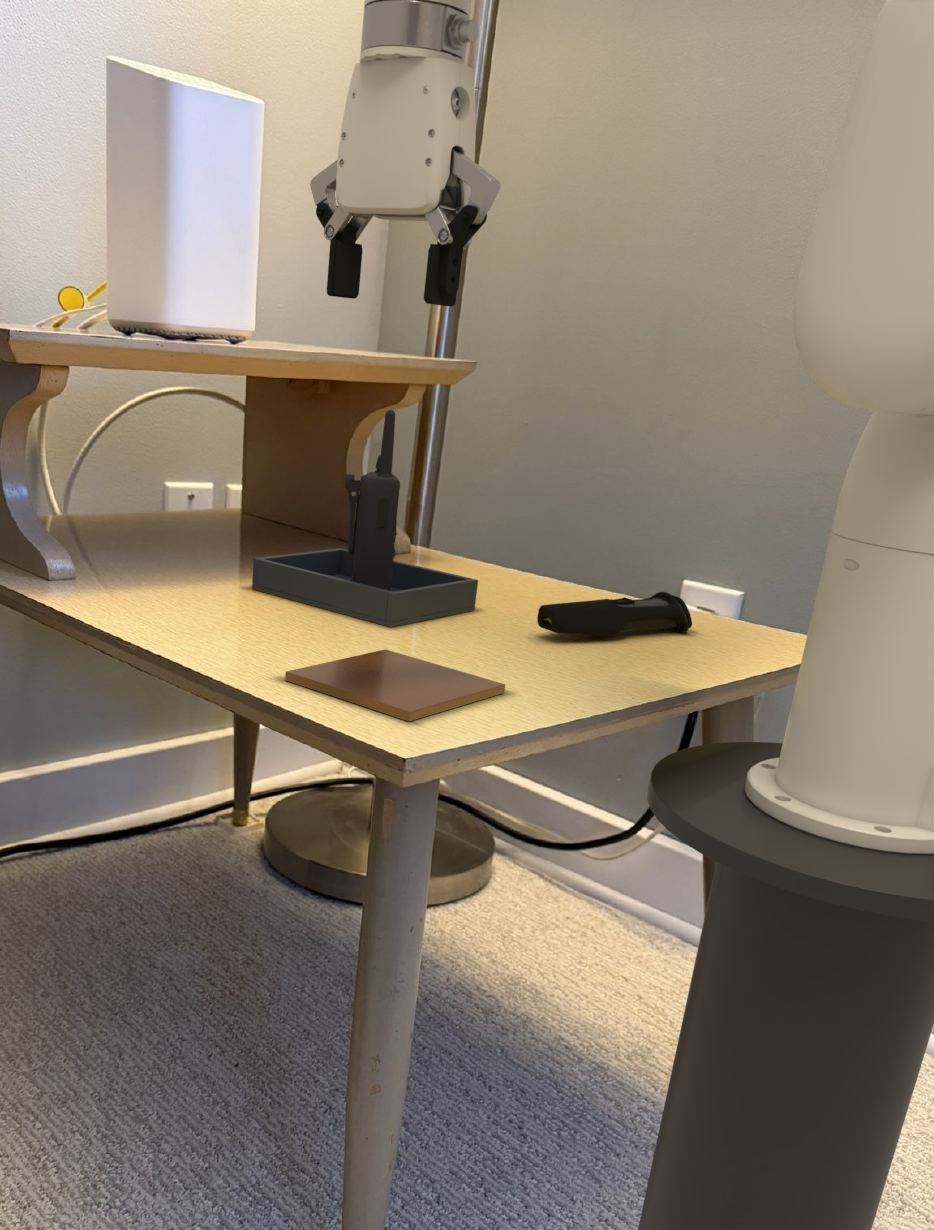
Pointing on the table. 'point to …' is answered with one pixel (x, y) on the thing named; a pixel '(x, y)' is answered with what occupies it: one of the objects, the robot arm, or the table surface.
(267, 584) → the tray
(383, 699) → the cork pad
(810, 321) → the robot arm
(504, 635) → the table surface
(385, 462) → the two-way radio
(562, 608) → the electric trimmer
